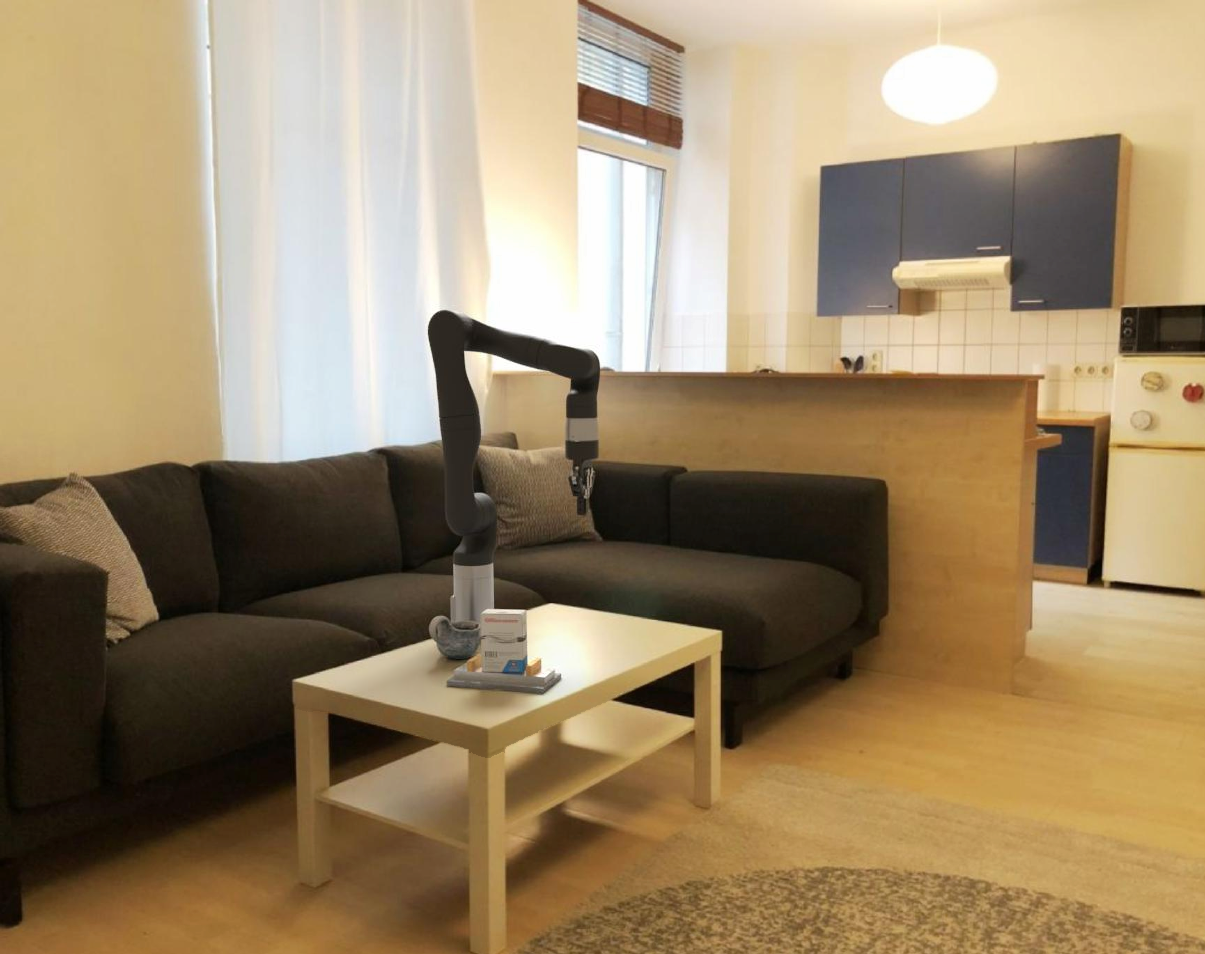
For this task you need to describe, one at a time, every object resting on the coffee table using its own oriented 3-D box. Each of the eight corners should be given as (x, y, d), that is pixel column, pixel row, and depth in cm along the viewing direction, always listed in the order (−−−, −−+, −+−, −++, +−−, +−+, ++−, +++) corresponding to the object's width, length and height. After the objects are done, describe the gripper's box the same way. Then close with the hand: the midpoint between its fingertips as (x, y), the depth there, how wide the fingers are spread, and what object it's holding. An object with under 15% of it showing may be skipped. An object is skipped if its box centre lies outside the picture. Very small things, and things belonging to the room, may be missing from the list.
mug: (490, 654, 242) (489, 609, 241) (456, 668, 231) (455, 621, 230) (453, 649, 246) (452, 605, 245) (418, 662, 235) (417, 616, 235)
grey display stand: (446, 685, 218) (446, 663, 218) (469, 671, 229) (468, 649, 228) (542, 693, 212) (542, 670, 212) (561, 678, 223) (561, 656, 222)
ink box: (528, 666, 222) (527, 608, 221) (523, 673, 218) (522, 614, 216) (486, 665, 224) (485, 607, 222) (480, 672, 219) (479, 613, 218)
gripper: (575, 436, 256) (575, 510, 258) (556, 439, 244) (557, 518, 245) (606, 436, 254) (606, 511, 256) (589, 440, 242) (589, 519, 243)
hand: (582, 514), depth 251 cm, fingers closed
